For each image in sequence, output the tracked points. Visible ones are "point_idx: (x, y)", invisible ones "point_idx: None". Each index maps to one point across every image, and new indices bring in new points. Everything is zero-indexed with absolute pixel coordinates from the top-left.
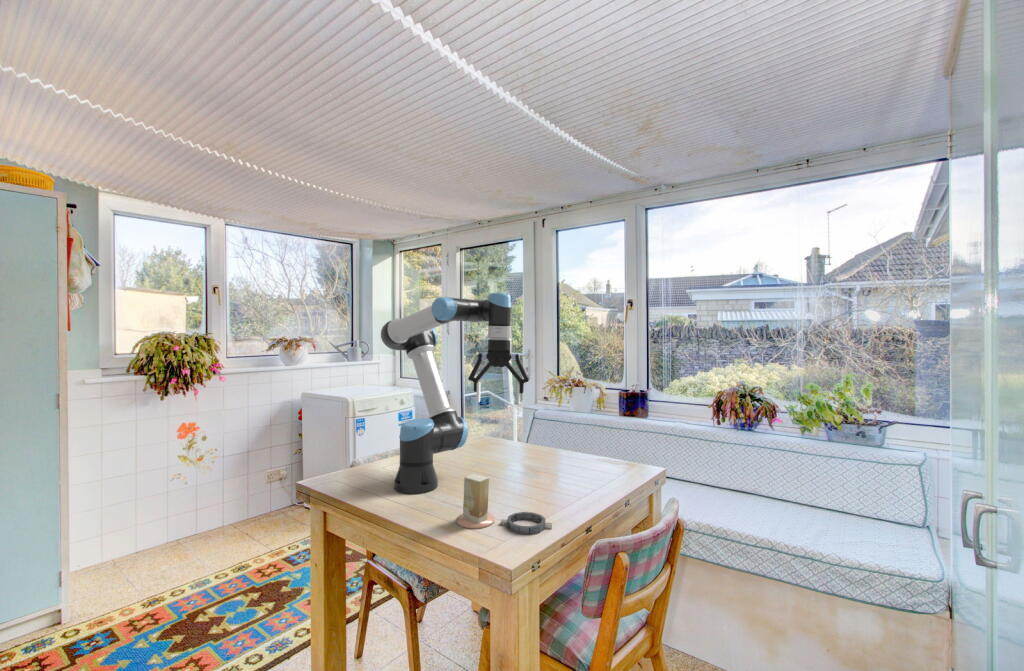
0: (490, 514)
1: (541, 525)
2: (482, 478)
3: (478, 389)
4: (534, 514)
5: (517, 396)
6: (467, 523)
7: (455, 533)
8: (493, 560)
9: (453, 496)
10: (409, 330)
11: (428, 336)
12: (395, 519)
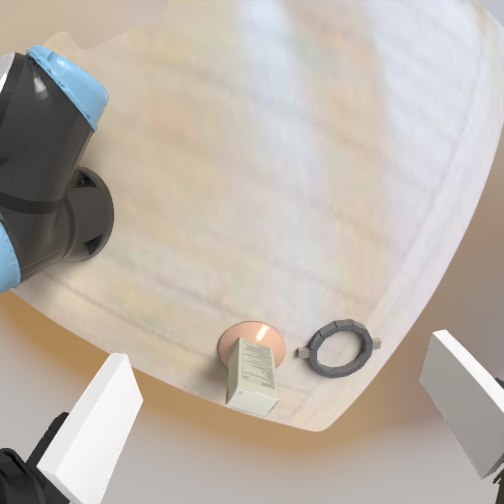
0: (273, 331)
1: (365, 362)
2: (266, 405)
3: (109, 470)
4: (356, 331)
5: (443, 410)
6: None
7: None
8: (302, 427)
9: (166, 247)
10: None
11: None
12: None
